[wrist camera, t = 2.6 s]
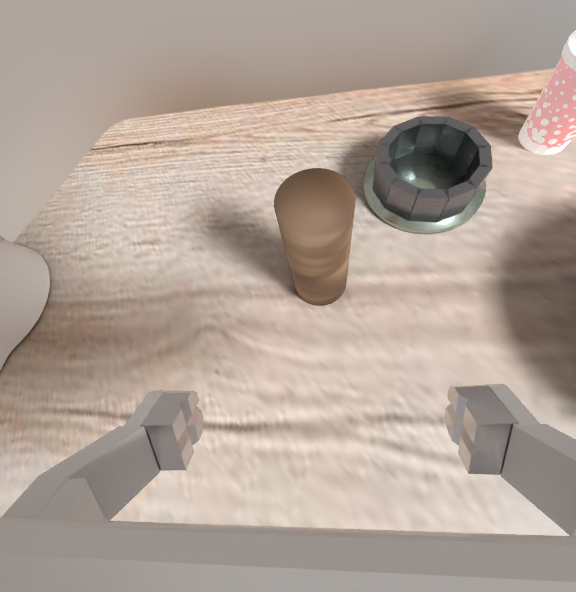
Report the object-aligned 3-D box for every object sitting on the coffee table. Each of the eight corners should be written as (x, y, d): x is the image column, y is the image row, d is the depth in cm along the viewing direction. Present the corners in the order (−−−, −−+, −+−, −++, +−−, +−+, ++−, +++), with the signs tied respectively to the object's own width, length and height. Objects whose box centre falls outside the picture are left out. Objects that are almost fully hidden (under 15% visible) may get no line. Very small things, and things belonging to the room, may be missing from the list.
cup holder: (396, 251, 30) (405, 226, 27) (344, 166, 35) (346, 136, 31) (508, 207, 31) (533, 176, 27) (442, 129, 35) (456, 94, 32)
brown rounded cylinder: (305, 313, 29) (290, 246, 18) (287, 269, 31) (263, 185, 20) (354, 293, 29) (369, 215, 18) (333, 251, 31) (335, 157, 20)
